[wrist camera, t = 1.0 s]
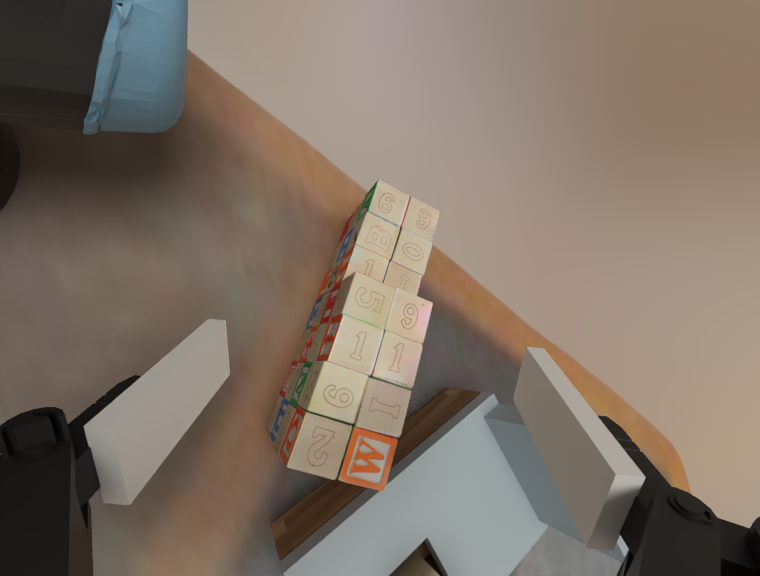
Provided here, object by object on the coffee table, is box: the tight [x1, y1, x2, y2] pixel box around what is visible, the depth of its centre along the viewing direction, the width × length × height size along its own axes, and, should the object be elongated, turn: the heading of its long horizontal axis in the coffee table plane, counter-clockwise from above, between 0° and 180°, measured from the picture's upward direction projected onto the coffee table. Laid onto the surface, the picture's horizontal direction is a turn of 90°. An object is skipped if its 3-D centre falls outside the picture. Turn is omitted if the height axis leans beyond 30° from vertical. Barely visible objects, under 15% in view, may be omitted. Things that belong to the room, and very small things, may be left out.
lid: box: [280, 392, 629, 576], centre depth 24 cm, size 12×20×9 cm, turn 120°
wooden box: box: [271, 388, 480, 576], centre depth 31 cm, size 12×20×6 cm, turn 120°
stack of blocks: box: [266, 180, 440, 491], centre depth 29 cm, size 21×6×12 cm, turn 161°
